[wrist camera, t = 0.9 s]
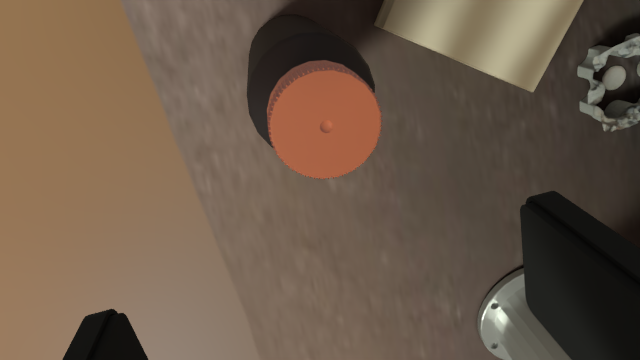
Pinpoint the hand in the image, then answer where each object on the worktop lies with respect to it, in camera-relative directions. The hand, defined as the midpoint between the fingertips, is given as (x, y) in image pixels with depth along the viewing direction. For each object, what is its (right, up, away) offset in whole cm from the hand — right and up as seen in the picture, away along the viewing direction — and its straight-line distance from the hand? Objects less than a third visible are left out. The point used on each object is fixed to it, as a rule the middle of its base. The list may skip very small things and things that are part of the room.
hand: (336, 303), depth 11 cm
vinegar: (-3, +13, +27) cm, 30 cm away
